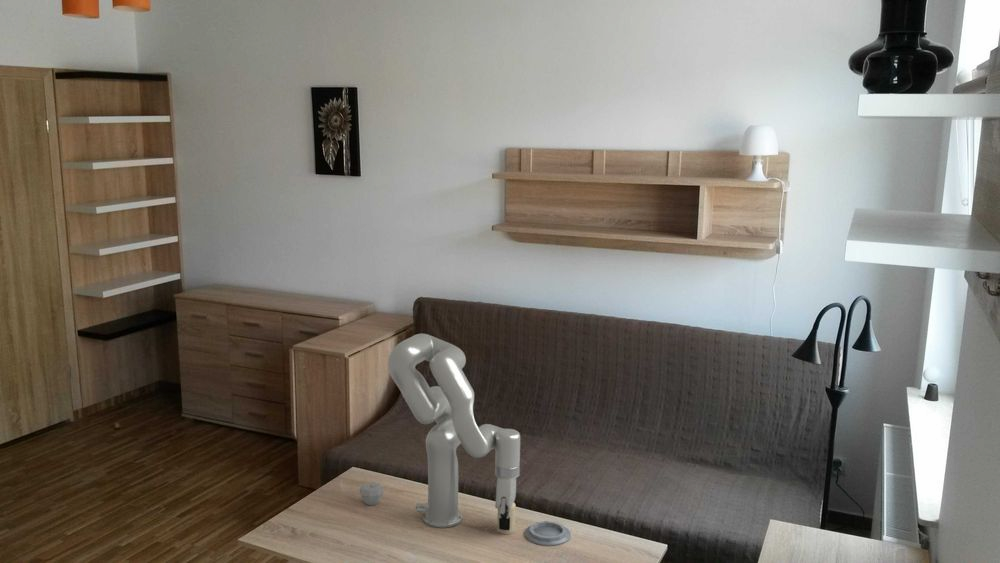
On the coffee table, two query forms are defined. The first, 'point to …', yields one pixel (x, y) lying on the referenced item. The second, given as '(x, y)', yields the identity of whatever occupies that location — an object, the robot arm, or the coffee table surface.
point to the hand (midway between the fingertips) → (506, 524)
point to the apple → (371, 493)
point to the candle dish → (547, 533)
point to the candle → (512, 520)
